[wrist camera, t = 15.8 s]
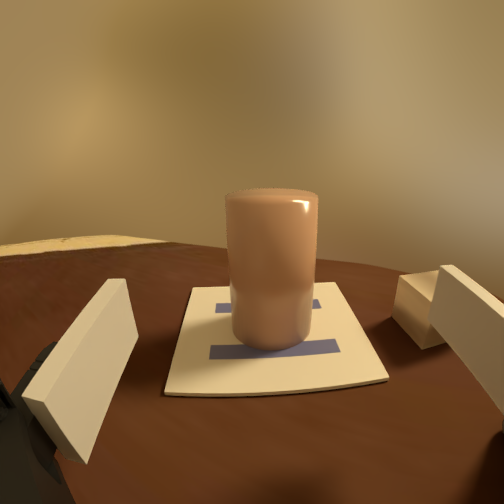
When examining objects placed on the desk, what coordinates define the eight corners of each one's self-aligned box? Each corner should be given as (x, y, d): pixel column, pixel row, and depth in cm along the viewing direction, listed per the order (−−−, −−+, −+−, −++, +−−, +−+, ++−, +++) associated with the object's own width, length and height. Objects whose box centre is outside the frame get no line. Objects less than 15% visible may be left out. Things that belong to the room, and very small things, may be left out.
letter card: (165, 394, 17) (164, 391, 17) (193, 290, 30) (193, 287, 30) (388, 380, 17) (389, 376, 17) (334, 284, 30) (334, 281, 30)
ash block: (421, 351, 20) (435, 305, 18) (391, 317, 24) (399, 275, 23) (464, 337, 20) (478, 294, 19) (433, 309, 25) (442, 269, 23)
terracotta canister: (231, 352, 20) (222, 206, 17) (233, 307, 26) (227, 189, 22) (317, 347, 21) (329, 204, 17) (303, 304, 26) (307, 187, 23)
